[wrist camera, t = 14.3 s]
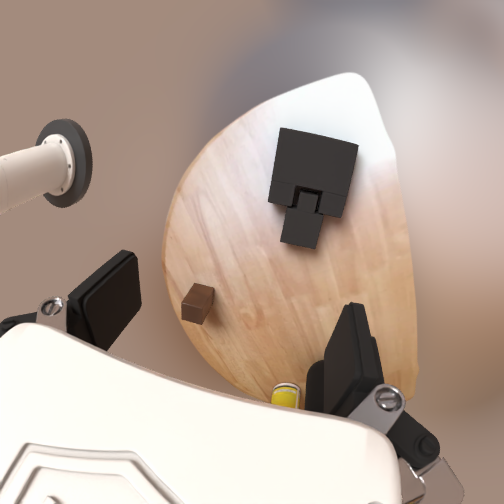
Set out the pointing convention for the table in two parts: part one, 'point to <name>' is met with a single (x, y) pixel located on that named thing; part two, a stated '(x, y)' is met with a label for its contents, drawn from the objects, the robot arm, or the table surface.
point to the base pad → (312, 169)
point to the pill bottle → (286, 395)
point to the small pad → (302, 221)
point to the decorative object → (315, 388)
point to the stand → (197, 303)
